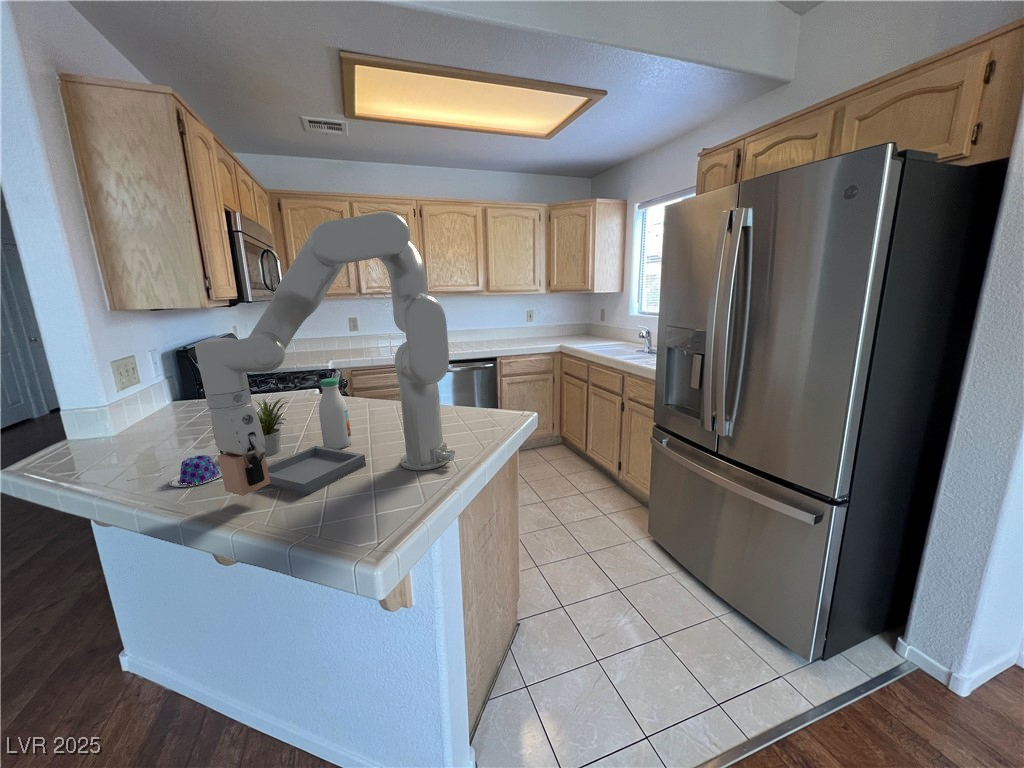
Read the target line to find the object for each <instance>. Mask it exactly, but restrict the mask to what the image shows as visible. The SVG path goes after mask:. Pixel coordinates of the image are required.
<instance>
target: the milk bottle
mask: <svg viewBox="0 0 1024 768" xmlns="http://www.w3.org/2000/svg"><path fill="white" fill-rule="evenodd" d="M320 386H321V387H320V388H321V389H322V394H321V398H320V401H319V404H318V415H319V424H320V431H321V436H322V437H321V439H322V443H323V447H325V448H331V449H336V450H342V449H344V448H348V447H350V446H351V444H352V443H353V442H352V441H353V440H352V434H351V433H352V432H351V426H350V424H351V423H350V417H349V411H348V410H349V409H348V405H347V403H346V400H345V399H344V397H343V395H342V394H341V393H340V390H339V379H338V378H335V377H332V378H330V377H329V378H323V379H321V380H320ZM349 445H350V446H349ZM347 446H348V447H347ZM341 448H342V449H341Z"/></svg>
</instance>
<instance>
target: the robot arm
mask: <svg viewBox="0 0 1024 768" xmlns="http://www.w3.org/2000/svg"><path fill="white" fill-rule="evenodd" d="M410 240H411V232H410V228H409V225H408V224H407V222H406V221H405V219H404V218H403V217H402V216H400V215H398V214H397V213H394V212H390V211H380V212H375V213H370V214H364V215H358V216H352V217H345V218H338V219H332V220H327V221H323V222H321V223H320V224H318V225H317V226H315V228H314V229H313V230H312V232H311V233H310V234H309V236H308V238H307V239H306V241H305V242H304V244H303V245H302V247H301V248H300V250H299V252H298V253H297V255H296V257H295V258H294V259H293V261H292V263H291V265H290V266H289V268H288V269H287V271H286V272H285V274H284V275H283V277H282V278H281V280H280V282H279V283H278V285H277V287H276V288H275V291H274V293H273V296H272V298H271V300H270V302H269V304H268V305H267V307H266V309H265V310H264V312H263V313H262V315H261V316H260V318H259V319H258V321H257V323H256V324H255V325H254V328H253V330H252V331H251V332H250V334H249V336H248V337H244V338H239V339H236V338H233V337H218V338H211V339H204V340H200V341H198V342H196V344H195V346H194V349H195V356H196V359H197V363H198V364H197V365H198V368H199V372H200V378H201V380H202V385H203V386H202V387H203V390H204V394H205V400H206V405H207V408H208V410H209V411H210V421H211V425H212V426H211V427H212V433H213V437H214V441H215V444H214V445H215V446H216V448H217V449H218V450H219V453H220V454H219V455H221V454H224V453H233V454H238V455H242V456H243V458H244V461H245V464H246V466H247V468H245V471H246V476H247V481H248V485H249V486H253V485H255V484H257V483H260V482H262V481H264V479H265V478H264V473H263V468H262V463H263V460H262V459H263V456H264V455H265V453H266V450H265V439H264V435H263V431H262V427H261V424H260V421H259V418H258V415H257V412H258V411H257V410H256V407H255V406H254V404H253V398H252V395H251V394H252V393H251V391H250V390H251V389H250V386H249V385H250V384H249V380H248V375H247V373H265V372H271V371H275V370H277V369H278V368H279V367H281V366H282V364H283V363H284V361H285V359H286V350H287V348H288V346H289V345H290V343H291V341H292V340H293V338H294V337H295V335H296V333H297V332H298V330H299V329H300V327H301V326H302V325H303V323H304V322H305V320H307V319H308V318H309V317H310V316H311V315H312V314H313V313H315V311H316V310H317V309H318V307H319V306H320V305H321V304H322V302H323V300H324V298H325V297H326V295H327V293H328V292H329V290H330V289H331V287H332V286H333V284H334V283H335V281H336V279H337V277H338V276H339V274H340V273H341V271H342V269H343V268H344V267H345V264H350V263H351V264H352V263H357V262H361V261H363V262H364V261H366V260H373V259H378V260H380V262H382V264H383V265H384V267H385V268H386V271H387V273H388V274H387V275H388V277H389V284H390V291H391V301H392V312H393V314H392V315H393V320H394V323H395V326H396V327H397V329H399V331H401V332H403V333H405V339H406V341H405V342H403V343H401V345H399V347H398V348H397V350H396V352H395V355H394V356H395V357H394V366H395V372H396V377H397V383H398V387H399V388H398V389H399V396H400V404H401V407H400V408H401V414H402V425H403V427H402V428H403V435H404V445H405V454H404V455H403V456H402V457H401V458H400V466H402V467H403V468H404V469H406V470H411V471H429V470H434V469H437V468H440V467H442V466H444V465H446V464H447V463H448V462H453V460H454V458H455V454H456V452H455V450H454V449H453V450H452V449H448V448H447V447H448V446H447V442H444V441H443V440H444V439H443V427H442V413H441V402H440V392H439V385H438V383H439V382H440V381H442V379H444V377H445V376H446V374H448V373H447V372H448V369H449V366H450V365H449V364H450V353H449V352H450V350H449V338H448V327H447V326H448V325H447V318H446V314H445V310H444V308H443V307H442V306H443V305H441V303H440V302H439V301H438V300H437V299H436V298H435V297H433V296H431V295H429V289H428V288H429V287H428V280H427V275H426V274H427V273H426V269H425V264H424V262H423V259H422V257H421V255H420V253H419V251H418V250H417V248H416V247H415V245H413V244H412V243H411V241H410ZM256 411H257V412H256ZM250 448H252V451H250V452H248V451H247V449H250ZM253 453H254V456H252V458H251V460H250V458H249V456H248V455H250V454H253Z"/></svg>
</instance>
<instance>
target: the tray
mask: <svg viewBox="0 0 1024 768" xmlns="http://www.w3.org/2000/svg"><path fill="white" fill-rule="evenodd" d="M365 456H366V455H365V454H363V453H358V452H353V451H347V450H342V449H337V450H336V449H331V448H325V447H324V446H320V445H319V446H318V445H314V446H313V447H312V446H311V447H309V448H306V449H305V450H302V451H299V452H297V453H295V454H292V455H290V456H288V457H285V458H283V459H280V460H277V461H275V462H272V463H270V464H267V468H268V473H269V478H270V484H268V485H266V486H265V487H268V488H271V489H275V490H279V491H281V492H282V491H283V492H286V493H289V494H290V493H291V494H293V493H294V495H297V494H298V496H302V497H308V496H310V495H312V494H314V493H316V492H317V491H319V490H321V489H323V488H325V487H327V486H329V485H331V484H333V483H335V482H337V481H339V480H340V479H342V478H345V477H346V476H349V475H350V473H351V474H352V473H354V472H357V471H358V470H360V469H362V468H364V467H366V466H367V462H366V457H365ZM363 466H364V467H363ZM348 474H349V475H348ZM344 476H345V477H344ZM338 479H339V480H338Z"/></svg>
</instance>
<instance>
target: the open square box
mask: <svg viewBox="0 0 1024 768" xmlns="http://www.w3.org/2000/svg"><path fill="white" fill-rule="evenodd" d="M247 451H248V452H250V451H252V448H250V449H247ZM248 456H249V458H250V460H251V458H252V456H254V453H253V454H250V455H248ZM217 459H218V464H219V465H218V466H220V469H221V473H222V476H221V477H222V482H223V485H224V490H225V492H228V493H231V494H235V495H239V496H241V497H244V496H246V495H248V494H250V493H253V492H255V491H258V490H259V489H261V488H264V487H267V486H266V485H268V484H270V478H269V473H268V468H267V465H268V463H267V459H266V456H265V455H264V456H263V459H262V460H263V463H262V468H263V473H264V478H265V479H264V481H262V482H260V483H257V484H255V485H253V486H249V485H248V481H247V476H246V471H245V468H247V466H246V464H245V461H244V458H243V456H242V455H238V454H233V453H224V454H219V455H217Z"/></svg>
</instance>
